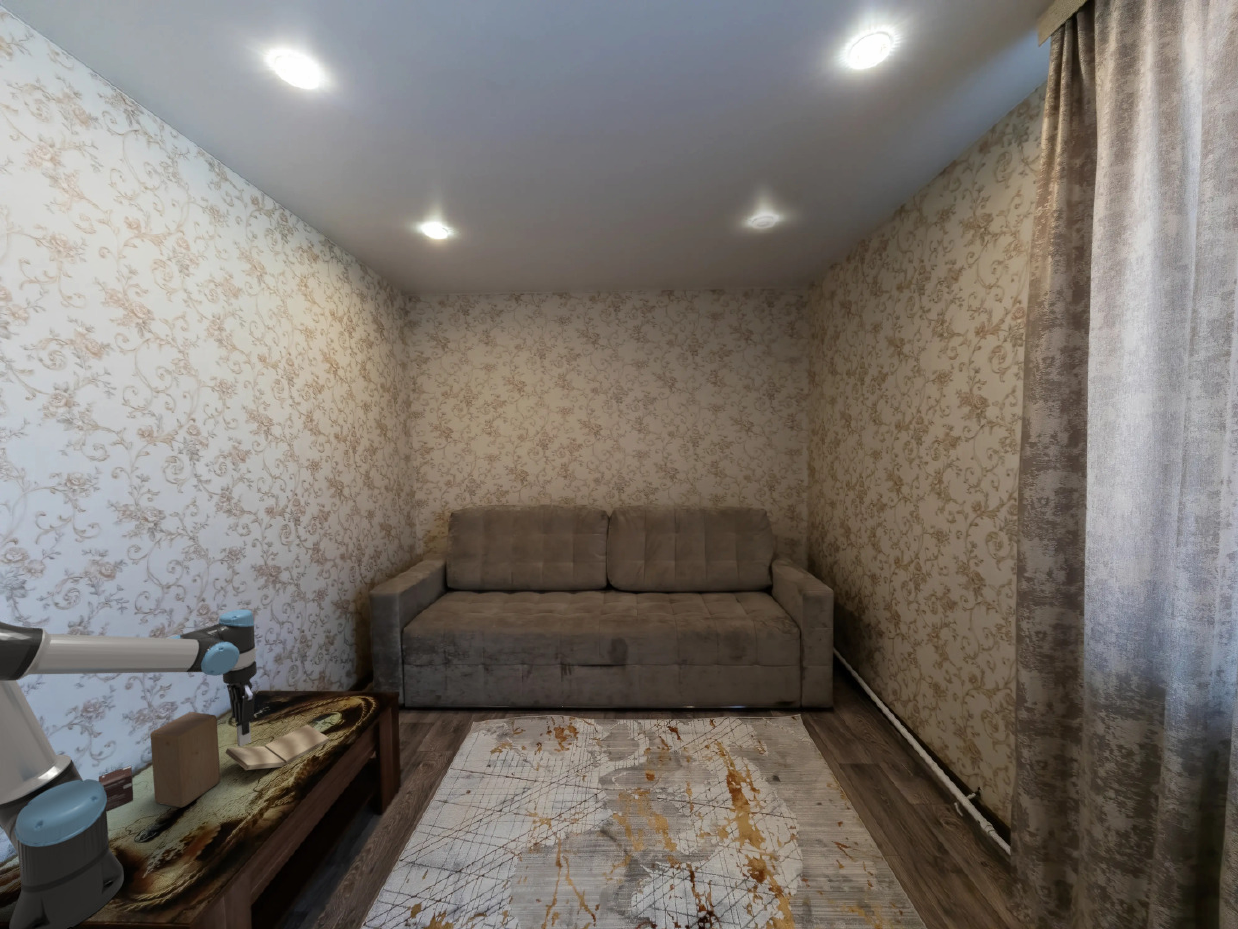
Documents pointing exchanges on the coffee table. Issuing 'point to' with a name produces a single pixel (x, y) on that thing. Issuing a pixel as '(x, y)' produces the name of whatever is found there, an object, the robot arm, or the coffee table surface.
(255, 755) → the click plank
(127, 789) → the box
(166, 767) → the wooden block
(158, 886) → the coffee table surface
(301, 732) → the laid boards
